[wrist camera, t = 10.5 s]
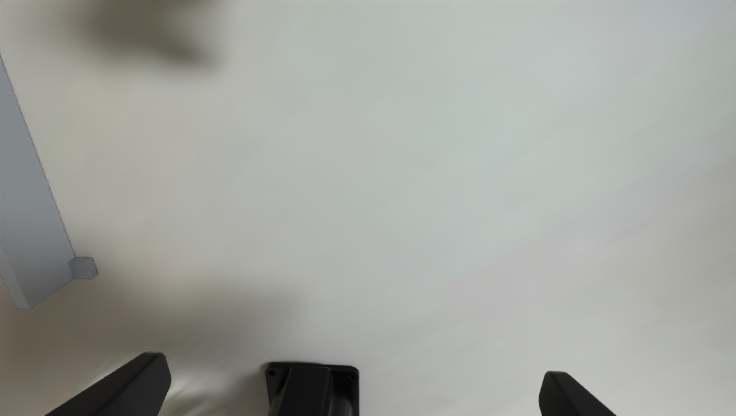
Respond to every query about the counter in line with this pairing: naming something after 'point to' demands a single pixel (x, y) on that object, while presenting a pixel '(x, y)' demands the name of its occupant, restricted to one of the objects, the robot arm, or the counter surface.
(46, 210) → the grey barrier wall
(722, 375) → the counter surface
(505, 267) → the counter surface
